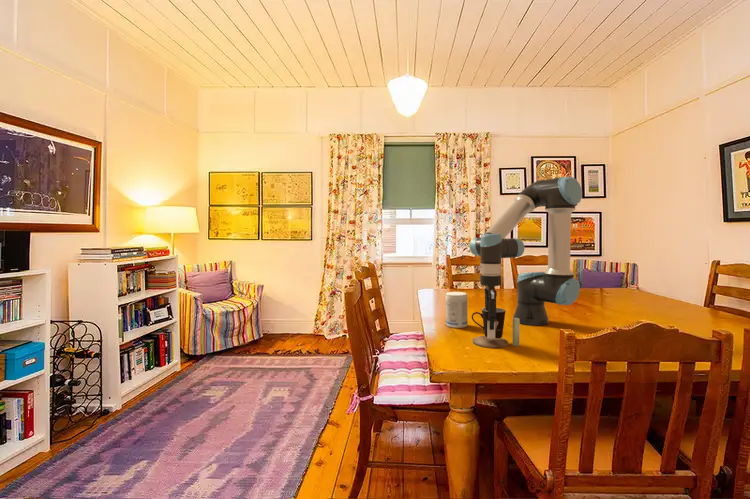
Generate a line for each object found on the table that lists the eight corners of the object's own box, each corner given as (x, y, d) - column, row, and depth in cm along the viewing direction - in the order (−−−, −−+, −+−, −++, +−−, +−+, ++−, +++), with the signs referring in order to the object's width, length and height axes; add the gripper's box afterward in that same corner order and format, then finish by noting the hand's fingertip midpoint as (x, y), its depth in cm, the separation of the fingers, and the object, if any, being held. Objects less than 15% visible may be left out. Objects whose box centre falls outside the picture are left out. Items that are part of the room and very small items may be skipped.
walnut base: (493, 336, 155) (493, 334, 155) (515, 345, 143) (515, 343, 143) (465, 340, 150) (465, 338, 150) (486, 349, 138) (486, 347, 138)
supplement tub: (461, 322, 178) (462, 291, 178) (471, 327, 169) (471, 294, 168) (442, 324, 176) (442, 292, 176) (450, 329, 167) (450, 295, 166)
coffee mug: (508, 335, 147) (509, 309, 146) (499, 340, 140) (500, 313, 140) (480, 330, 154) (480, 305, 154) (470, 335, 148) (470, 309, 147)
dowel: (516, 344, 145) (516, 317, 144) (520, 345, 143) (521, 319, 142) (511, 344, 144) (511, 318, 143) (515, 346, 142) (515, 319, 141)
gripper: (477, 271, 155) (477, 328, 156) (483, 277, 136) (482, 342, 137) (497, 272, 154) (496, 329, 155) (505, 278, 135) (504, 343, 136)
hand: (490, 335), depth 146 cm, fingers closed on coffee mug, 6 cm apart
